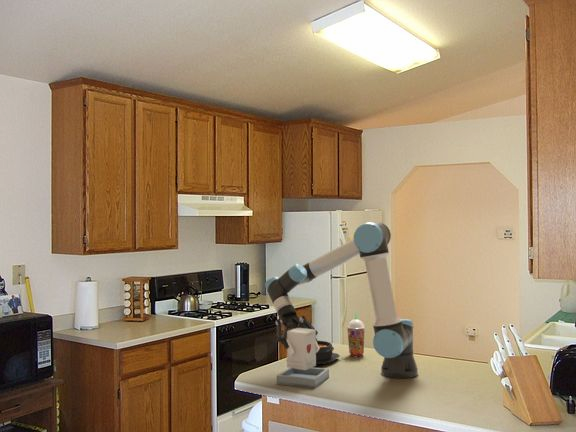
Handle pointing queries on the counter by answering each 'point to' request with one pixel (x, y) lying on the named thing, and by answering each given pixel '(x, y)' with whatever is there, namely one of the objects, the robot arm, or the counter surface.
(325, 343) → the casserole
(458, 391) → the counter surface
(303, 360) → the supplement box
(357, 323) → the smoothie
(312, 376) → the tray
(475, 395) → the counter surface
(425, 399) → the counter surface
